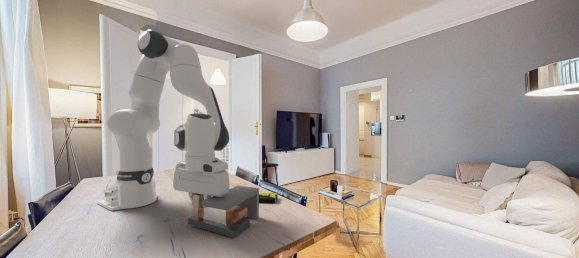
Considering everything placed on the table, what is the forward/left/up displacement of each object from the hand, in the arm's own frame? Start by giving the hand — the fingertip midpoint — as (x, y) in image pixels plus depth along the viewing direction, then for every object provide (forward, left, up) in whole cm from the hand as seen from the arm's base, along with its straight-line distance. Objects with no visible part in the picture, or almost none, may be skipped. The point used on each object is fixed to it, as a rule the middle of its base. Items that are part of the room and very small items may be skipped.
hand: (199, 206), depth 68 cm
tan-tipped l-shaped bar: (+6, +2, -6) cm, 9 cm away
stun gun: (+5, +26, -7) cm, 27 cm away
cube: (+10, +6, -7) cm, 13 cm away
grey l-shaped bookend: (+10, +4, -6) cm, 12 cm away
